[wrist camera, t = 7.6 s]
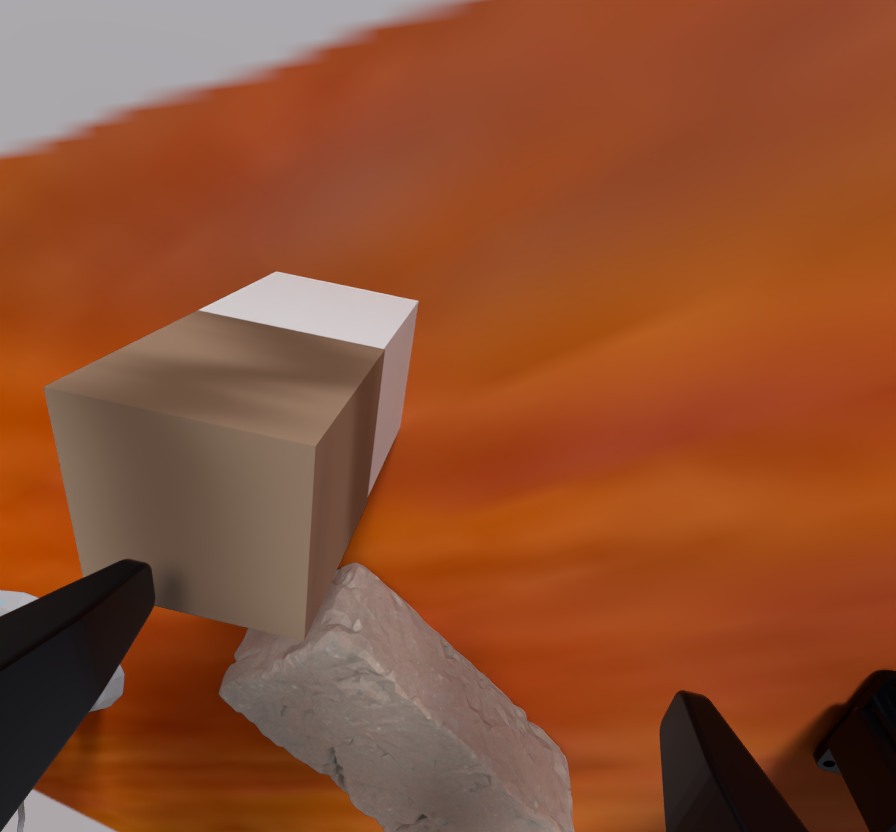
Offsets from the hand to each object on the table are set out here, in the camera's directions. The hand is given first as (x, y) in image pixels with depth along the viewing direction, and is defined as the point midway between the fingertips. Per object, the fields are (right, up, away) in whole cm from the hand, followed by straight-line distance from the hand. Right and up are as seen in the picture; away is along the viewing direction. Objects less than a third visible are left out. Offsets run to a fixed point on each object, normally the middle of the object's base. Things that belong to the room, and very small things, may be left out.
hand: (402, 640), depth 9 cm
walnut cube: (-4, +4, +6) cm, 8 cm away
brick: (-1, -10, +19) cm, 21 cm away
